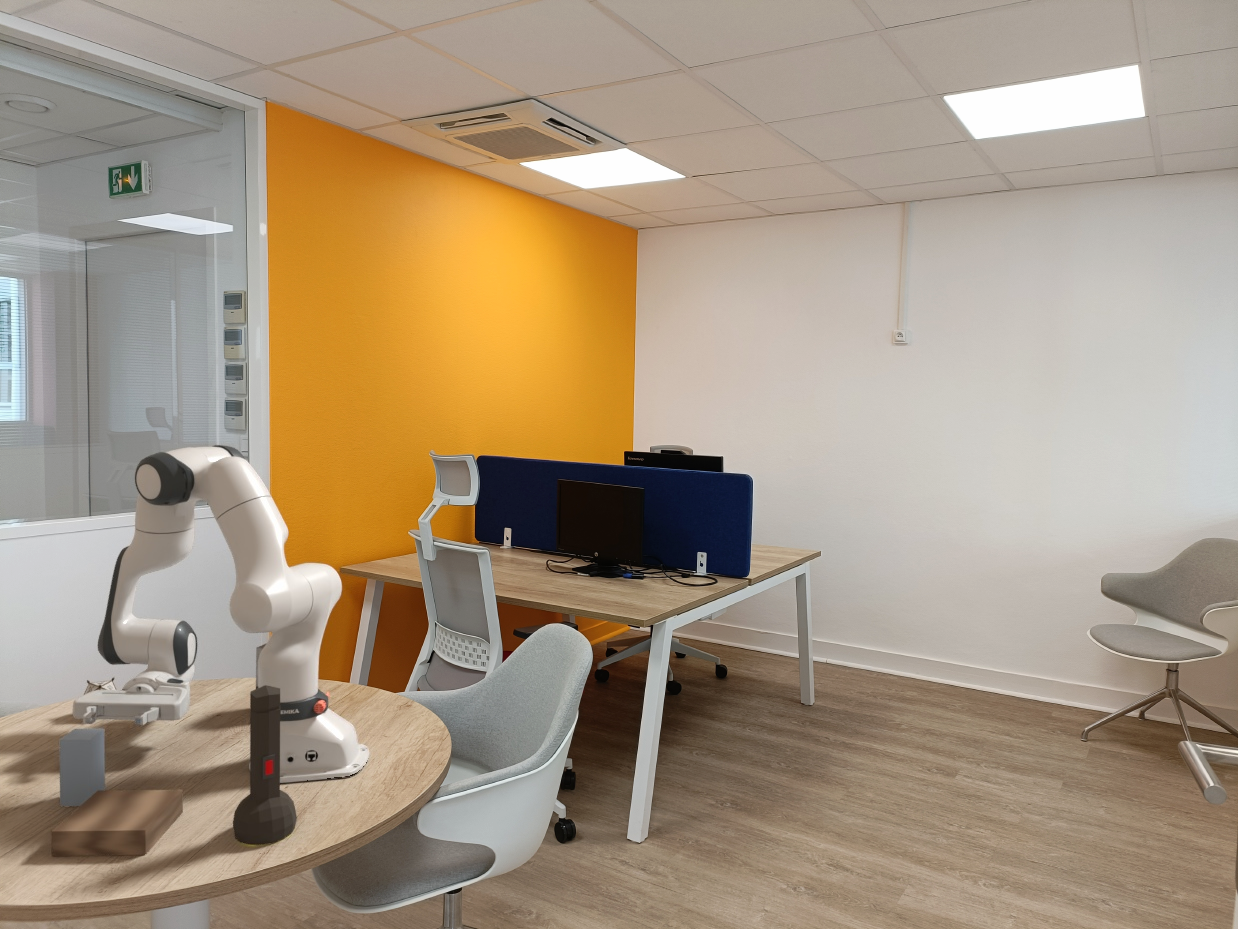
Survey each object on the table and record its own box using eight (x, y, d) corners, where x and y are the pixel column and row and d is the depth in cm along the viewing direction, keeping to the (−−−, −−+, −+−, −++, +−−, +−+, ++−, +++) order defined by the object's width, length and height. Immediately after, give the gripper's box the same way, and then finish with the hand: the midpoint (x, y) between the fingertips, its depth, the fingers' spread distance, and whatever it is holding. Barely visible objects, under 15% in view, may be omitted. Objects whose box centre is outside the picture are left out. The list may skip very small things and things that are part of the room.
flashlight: (226, 826, 144) (240, 853, 136) (226, 681, 142) (240, 699, 134) (287, 811, 150) (304, 836, 142) (288, 672, 148) (304, 688, 140)
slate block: (104, 793, 154) (104, 728, 154) (90, 806, 149) (89, 739, 149) (75, 793, 154) (74, 728, 153) (60, 806, 149) (59, 739, 148)
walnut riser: (182, 812, 148) (182, 789, 148) (145, 854, 135) (145, 830, 134) (98, 813, 147) (97, 790, 147) (51, 856, 133) (51, 831, 133)
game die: (105, 734, 190) (103, 707, 184) (69, 719, 190) (66, 692, 184) (132, 702, 197) (131, 676, 191) (97, 688, 197) (96, 662, 191)
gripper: (93, 679, 175) (55, 703, 161) (197, 681, 177) (168, 705, 163) (93, 709, 176) (55, 735, 162) (196, 711, 178) (167, 737, 164)
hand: (112, 720), depth 163 cm, fingers open, 8 cm apart
